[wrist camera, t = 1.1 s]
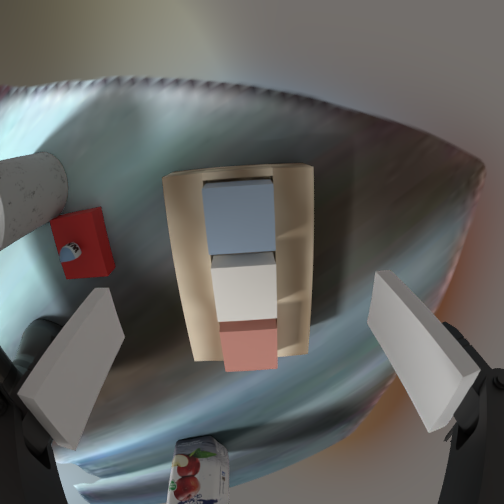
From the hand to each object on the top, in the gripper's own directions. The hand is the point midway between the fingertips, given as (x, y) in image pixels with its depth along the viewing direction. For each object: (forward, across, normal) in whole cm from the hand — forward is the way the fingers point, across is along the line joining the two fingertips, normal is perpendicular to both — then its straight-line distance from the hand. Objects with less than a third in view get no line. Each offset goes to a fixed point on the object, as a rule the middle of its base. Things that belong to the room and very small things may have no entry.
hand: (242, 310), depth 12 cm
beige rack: (+21, 0, -7) cm, 22 cm away
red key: (+16, 0, -14) cm, 21 cm away
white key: (+16, 0, -7) cm, 17 cm away
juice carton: (+21, -12, -49) cm, 55 cm away
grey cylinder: (+21, -26, +5) cm, 34 cm away
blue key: (+16, 0, 0) cm, 16 cm away
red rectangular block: (+22, -20, -3) cm, 30 cm away
